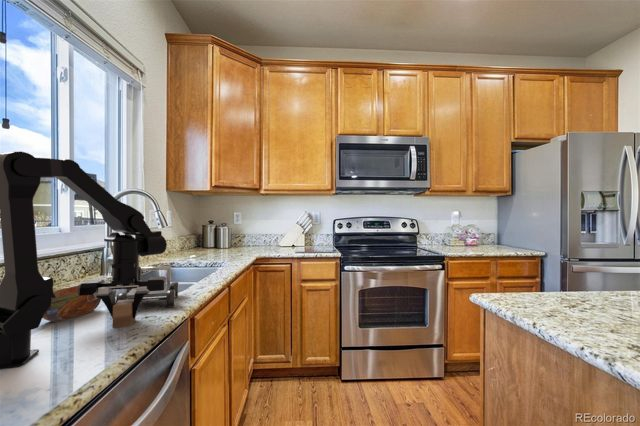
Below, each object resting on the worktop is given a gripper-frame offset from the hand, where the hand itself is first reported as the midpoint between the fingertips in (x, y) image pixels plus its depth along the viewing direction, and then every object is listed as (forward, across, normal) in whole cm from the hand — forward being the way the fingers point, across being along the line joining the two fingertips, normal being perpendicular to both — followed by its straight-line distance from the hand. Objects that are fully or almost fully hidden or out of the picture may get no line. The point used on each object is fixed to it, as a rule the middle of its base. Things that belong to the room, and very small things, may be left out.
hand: (124, 318), depth 79 cm
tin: (+2, +15, -11) cm, 19 cm away
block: (+1, 0, 0) cm, 1 cm away
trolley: (+1, -3, -19) cm, 19 cm away
